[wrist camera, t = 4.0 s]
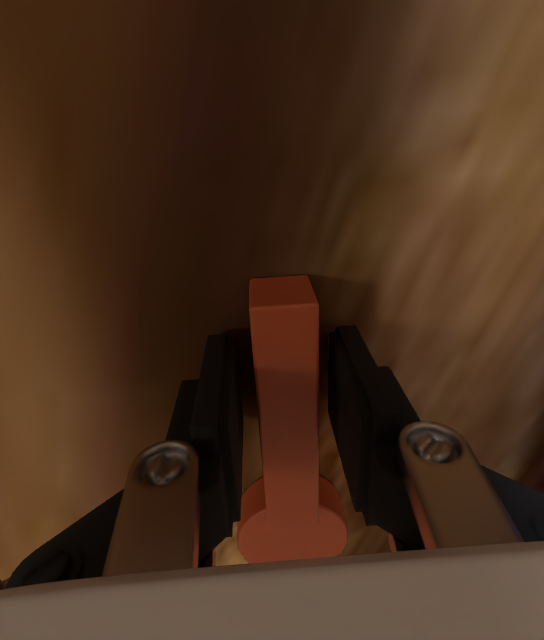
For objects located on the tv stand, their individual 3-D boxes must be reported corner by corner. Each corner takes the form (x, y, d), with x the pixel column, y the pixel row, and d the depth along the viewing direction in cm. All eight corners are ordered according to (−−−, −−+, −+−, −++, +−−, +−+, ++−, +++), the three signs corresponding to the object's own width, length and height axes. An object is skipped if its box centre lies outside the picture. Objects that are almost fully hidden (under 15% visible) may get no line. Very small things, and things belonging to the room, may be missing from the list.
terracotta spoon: (208, 280, 11) (199, 311, 9) (348, 270, 11) (368, 300, 9) (242, 543, 15) (241, 598, 14) (339, 535, 16) (350, 589, 14)
